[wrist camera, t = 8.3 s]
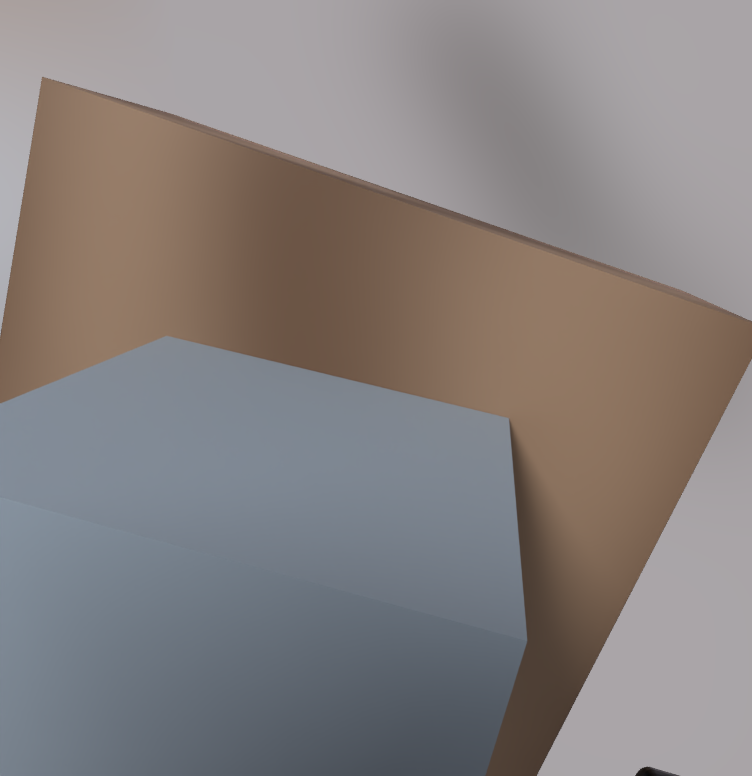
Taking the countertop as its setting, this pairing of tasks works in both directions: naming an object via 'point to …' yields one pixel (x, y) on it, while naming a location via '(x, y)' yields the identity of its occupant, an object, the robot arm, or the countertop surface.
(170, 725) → the slate cube
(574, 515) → the walnut block
